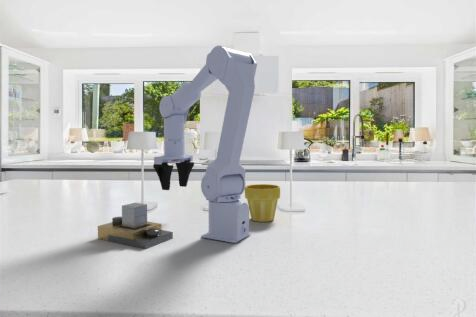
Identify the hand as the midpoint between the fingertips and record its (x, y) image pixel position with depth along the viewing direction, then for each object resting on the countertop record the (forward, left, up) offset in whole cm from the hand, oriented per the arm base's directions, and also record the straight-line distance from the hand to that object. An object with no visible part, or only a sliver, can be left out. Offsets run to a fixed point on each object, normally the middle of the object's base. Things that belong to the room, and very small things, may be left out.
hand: (174, 188), depth 96 cm
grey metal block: (-3, +18, -9) cm, 21 cm away
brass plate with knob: (-3, +18, -9) cm, 21 cm away
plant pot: (-21, -14, -10) cm, 27 cm away
